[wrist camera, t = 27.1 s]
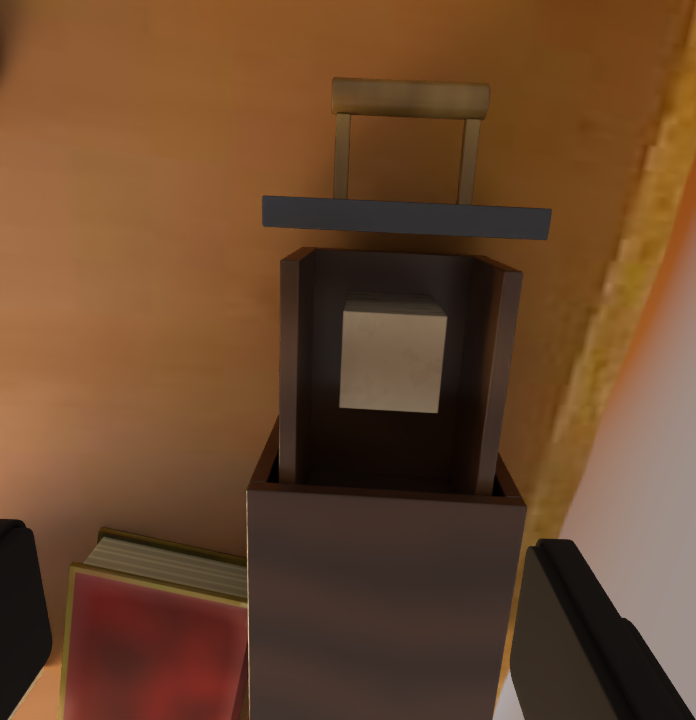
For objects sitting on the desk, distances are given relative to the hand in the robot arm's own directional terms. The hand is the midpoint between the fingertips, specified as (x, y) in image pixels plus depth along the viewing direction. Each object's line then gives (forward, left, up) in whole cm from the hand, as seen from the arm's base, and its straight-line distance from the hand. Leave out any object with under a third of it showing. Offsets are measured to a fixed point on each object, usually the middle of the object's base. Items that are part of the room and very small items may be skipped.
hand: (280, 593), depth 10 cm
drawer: (-1, +3, -21) cm, 21 cm away
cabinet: (+14, +3, -22) cm, 26 cm away
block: (0, +3, -20) cm, 20 cm away
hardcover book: (+26, -12, -22) cm, 36 cm away
